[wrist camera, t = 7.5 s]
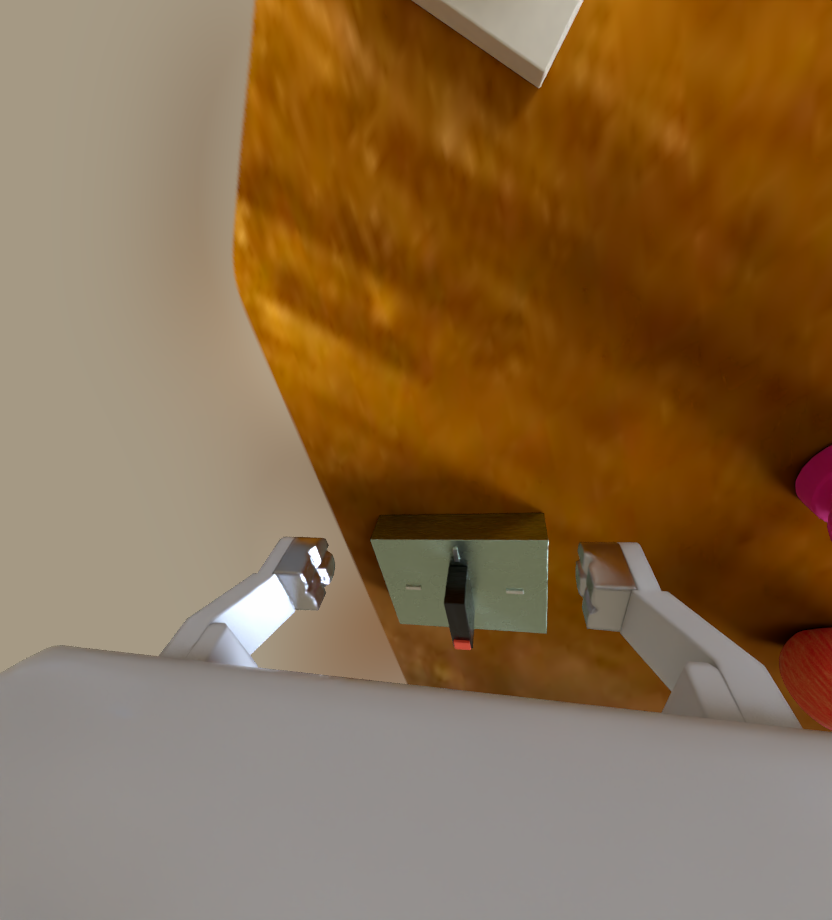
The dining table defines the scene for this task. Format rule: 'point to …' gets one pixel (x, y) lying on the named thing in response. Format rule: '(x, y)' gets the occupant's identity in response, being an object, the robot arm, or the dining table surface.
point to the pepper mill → (817, 486)
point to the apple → (810, 672)
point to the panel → (466, 545)
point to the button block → (511, 29)
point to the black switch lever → (460, 607)
